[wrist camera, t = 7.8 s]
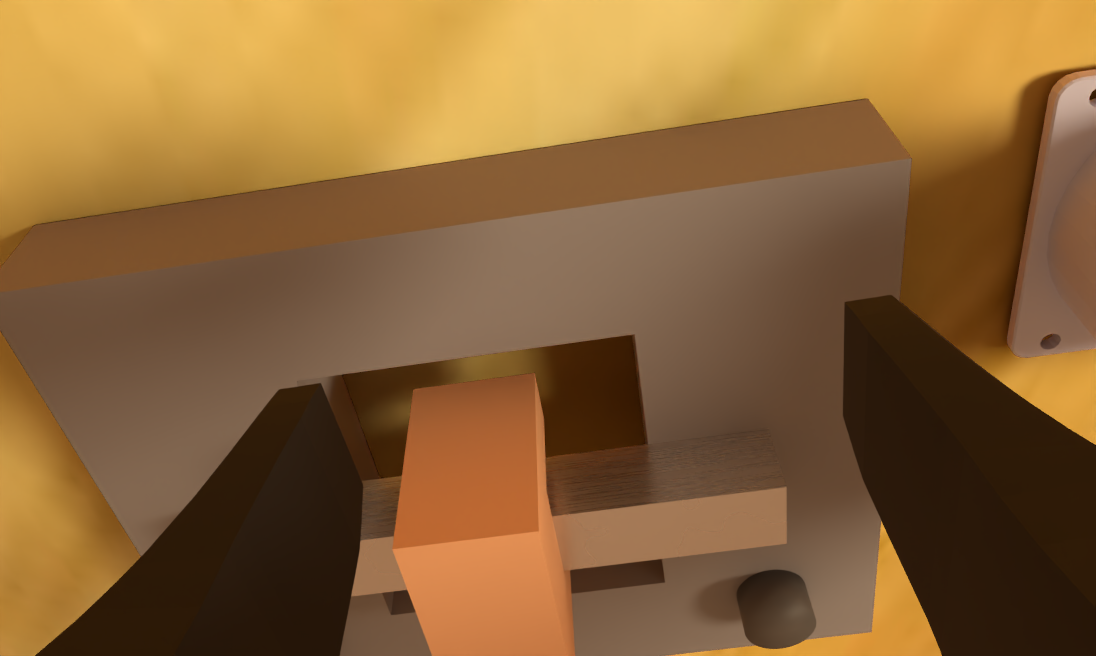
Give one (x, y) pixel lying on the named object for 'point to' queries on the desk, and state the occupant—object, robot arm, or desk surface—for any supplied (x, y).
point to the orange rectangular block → (482, 523)
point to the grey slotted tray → (516, 324)
